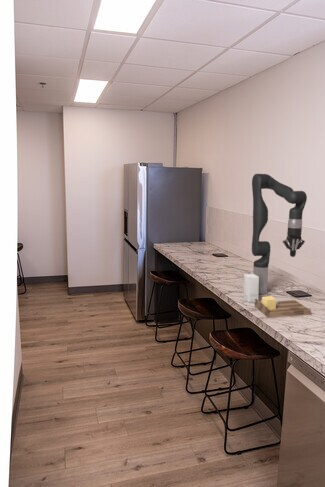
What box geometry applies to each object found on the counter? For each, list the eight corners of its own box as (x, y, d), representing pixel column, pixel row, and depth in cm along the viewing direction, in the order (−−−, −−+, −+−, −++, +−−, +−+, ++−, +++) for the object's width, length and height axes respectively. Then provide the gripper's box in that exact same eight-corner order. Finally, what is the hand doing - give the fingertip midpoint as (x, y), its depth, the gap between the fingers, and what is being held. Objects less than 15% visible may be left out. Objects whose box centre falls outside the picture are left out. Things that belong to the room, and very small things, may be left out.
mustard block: (261, 306, 209) (262, 296, 208) (270, 305, 210) (271, 296, 209) (266, 309, 204) (266, 300, 203) (275, 309, 205) (276, 299, 204)
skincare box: (258, 302, 223) (259, 277, 220) (247, 302, 222) (249, 277, 219) (252, 297, 231) (254, 273, 228) (242, 298, 230) (243, 273, 227)
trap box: (254, 306, 216) (255, 298, 215) (294, 304, 220) (295, 296, 219) (267, 317, 200) (268, 309, 199) (310, 314, 204) (311, 306, 203)
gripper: (302, 225, 216) (299, 254, 219) (280, 225, 214) (278, 255, 217) (309, 227, 209) (306, 257, 212) (287, 227, 207) (284, 258, 210)
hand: (292, 256), depth 215 cm, fingers closed
